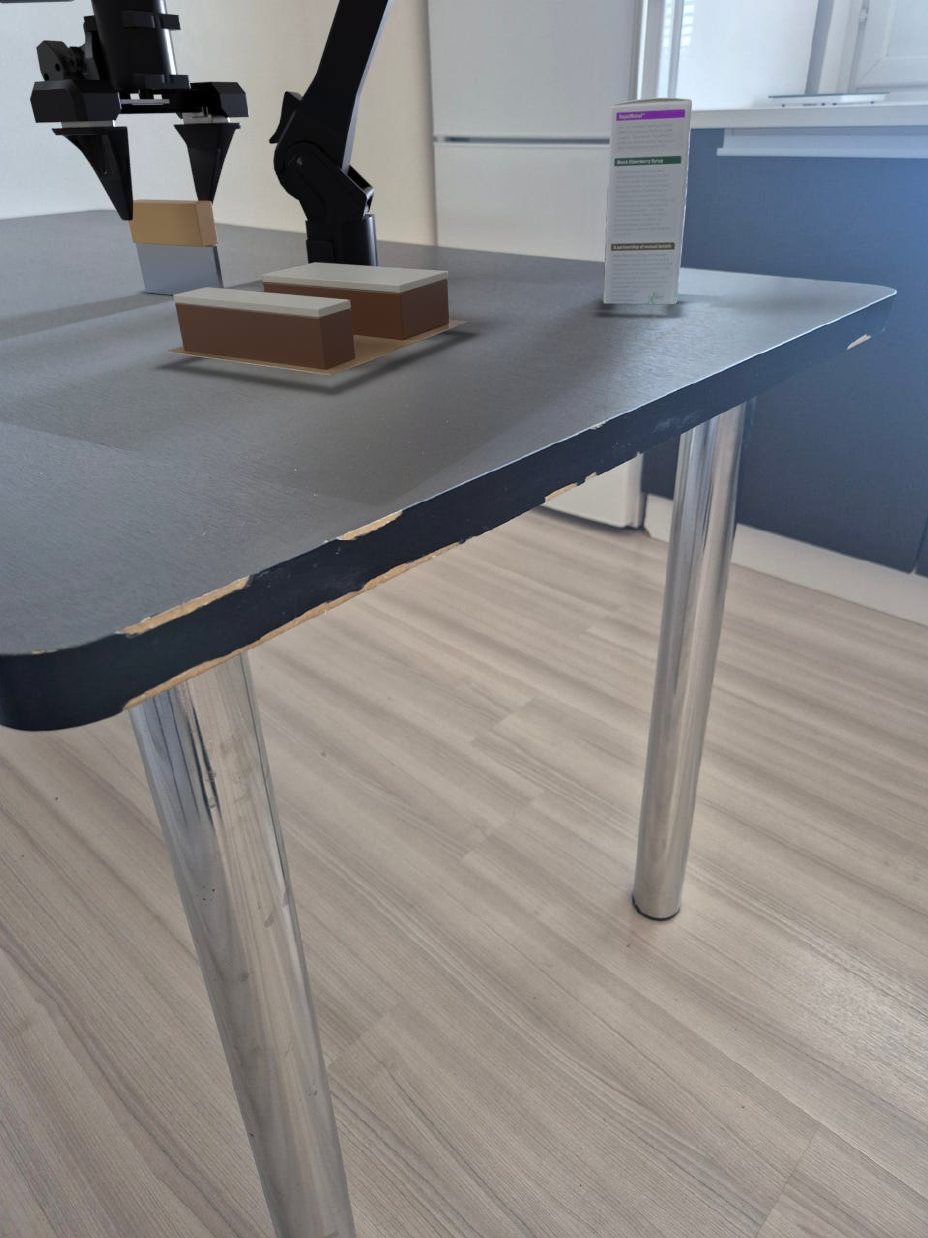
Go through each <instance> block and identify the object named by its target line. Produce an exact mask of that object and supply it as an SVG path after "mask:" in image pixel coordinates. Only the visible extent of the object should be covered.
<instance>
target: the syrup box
mask: <svg viewBox="0 0 928 1238" xmlns="http://www.w3.org/2000/svg"><path fill="white" fill-rule="evenodd" d="M692 109H693V101H692V99H691V98H683V97H682V98H680V97H647V98H637V99H632V100H627V101H622V102H615V103H613V104H612V105H611V106H610V121H609V122H610V123H609V144H608V145H609V148H608V170H607V171H608V172H607V193H606V218H605V248H604V253H605V254H604V273H603V299H602V300H603V304H615V305H616V304H622V305H623V304H624V305H625V304H626V305H627V304H630V305H631V304H632V305H676V304H677V302H678V296H679V285H680V274H681V262H682V251H683V240H684V231H685V221H686V219H685V218H686V210H687V209H686V208H687V194H688V178H689V164H690V163H689V162H690V145H691V128H692V127H691V125H692V111H693V110H692Z"/></svg>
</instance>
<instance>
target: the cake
mask: <svg viewBox="0 0 928 1238" xmlns="http://www.w3.org/2000/svg"><path fill="white" fill-rule="evenodd" d="M448 278H449V273H448V270H435V269H421V268H420V269H419V268H408V267H407V268H406V267H405V268H404V267H390V266H389V267H388V266H379V267H377V266H361V265H346V264H331V263H316V262H315V263H310V264H308V263H306V264H302V265H298V266H297V265H296V266H293V267H289V268H285V269H280V270H275V271H271V272H266V273H263V274H261V281H262V286H263V292H267V293H278V294H289V295H300V296H312V297H323V298H334V299H345V300H350V306H351V308H350V309H351V317H352V327H353V334H354V335H363V336H372V337H380V338H389V339H398V340H404V339H407V338H409V337H412V336H415V335H417V334H420V333H423V332H425V331H428V330H431V329H433V328H436V327H438V326H441V325H444V324H446V323H449V320H450V304H449V303H450V302H449V279H448Z"/></svg>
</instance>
